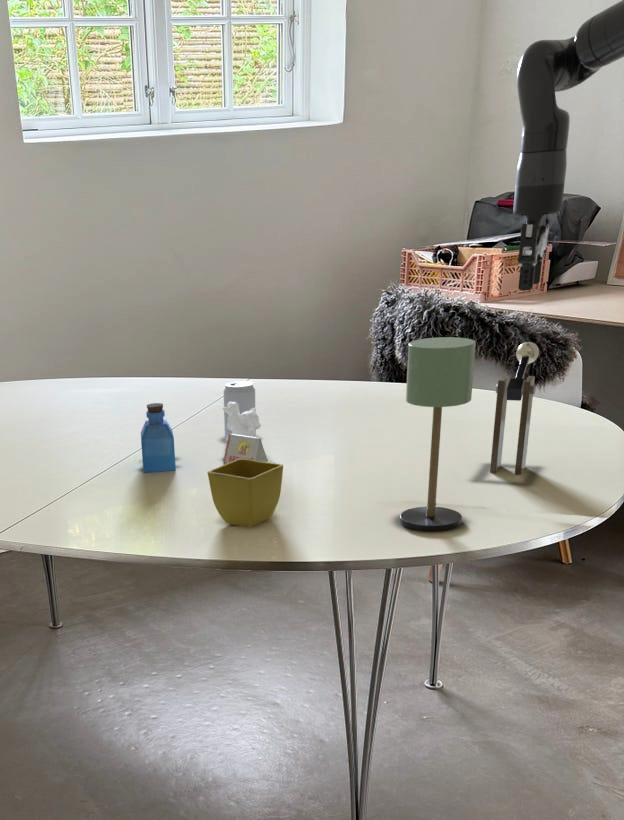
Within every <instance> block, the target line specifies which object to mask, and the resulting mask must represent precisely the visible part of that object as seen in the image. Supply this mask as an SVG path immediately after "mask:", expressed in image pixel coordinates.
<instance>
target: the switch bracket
mask: <svg viewBox="0 0 624 820" xmlns="http://www.w3.org/2000/svg"><path fill="white" fill-rule="evenodd" d="M535 380H536V376H535V375H528V376H527V377H526V378H525V379H524V388H523V395H522V398H521V408H520V409H521V410H520V417H519V427H518V428H519V429H518V437H517V438H518V439H517V447H516V456H515V459H516V460H515V467H514V475H522V473H523V472H524V470H525V468H526V464H527V463H526V462H527V453H528V446H529V445H528V443H529V437H530V436H529V435H530V427H531V419H532V418H531V417H532V416H531V415H532V409H533V399H534V395H535V393H536V388H537V386H536V385H535ZM509 381H510V375H507V374H504V375H502V376H501V377H500V378H499V379H498V381H497V384H496V387H495V394H496V400H495V401H496V402H495V412H494V423H493V424H494V425H493V435H492V444H491V455H490V459H491V460H490V466H489V469H490V470H489V473H490V474H491V473H492V474H496V473H497V472H498V471H499V469H500V468H501V466H502V459H503V457H502V456H503V447H504V436H505V427H506V426H505V425H506V415H507V405H508V400H507V387H508V384H509Z"/></svg>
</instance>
